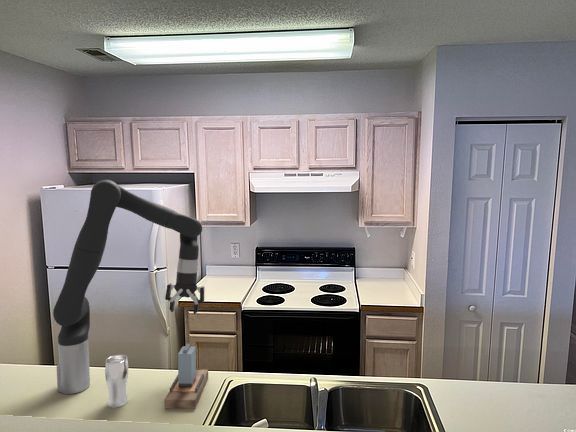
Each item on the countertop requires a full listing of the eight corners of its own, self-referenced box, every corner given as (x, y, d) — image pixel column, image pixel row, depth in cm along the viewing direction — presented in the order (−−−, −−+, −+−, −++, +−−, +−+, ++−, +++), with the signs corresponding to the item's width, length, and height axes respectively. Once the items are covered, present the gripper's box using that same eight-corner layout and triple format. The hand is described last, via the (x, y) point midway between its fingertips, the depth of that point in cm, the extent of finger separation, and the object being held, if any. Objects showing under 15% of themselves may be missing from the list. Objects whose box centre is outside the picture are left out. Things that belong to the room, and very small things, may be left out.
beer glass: (123, 409, 125) (122, 364, 123) (102, 408, 125) (100, 363, 123) (132, 396, 132) (131, 354, 130) (112, 396, 132) (111, 354, 130)
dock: (164, 408, 125) (164, 395, 125) (181, 377, 145) (181, 366, 145) (195, 408, 125) (195, 396, 125) (208, 377, 145) (208, 366, 145)
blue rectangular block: (178, 388, 131) (177, 350, 130) (183, 378, 138) (182, 342, 136) (191, 388, 131) (191, 350, 130) (196, 378, 138) (195, 342, 136)
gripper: (165, 270, 143) (162, 313, 143) (204, 273, 143) (200, 317, 144) (171, 267, 150) (167, 308, 151) (207, 270, 151) (204, 311, 151)
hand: (183, 312), depth 147 cm, fingers open, 8 cm apart
